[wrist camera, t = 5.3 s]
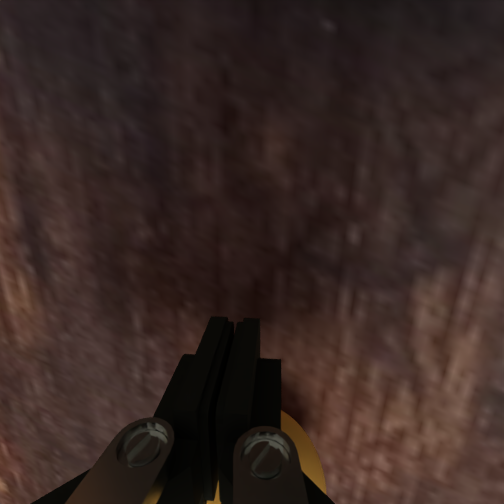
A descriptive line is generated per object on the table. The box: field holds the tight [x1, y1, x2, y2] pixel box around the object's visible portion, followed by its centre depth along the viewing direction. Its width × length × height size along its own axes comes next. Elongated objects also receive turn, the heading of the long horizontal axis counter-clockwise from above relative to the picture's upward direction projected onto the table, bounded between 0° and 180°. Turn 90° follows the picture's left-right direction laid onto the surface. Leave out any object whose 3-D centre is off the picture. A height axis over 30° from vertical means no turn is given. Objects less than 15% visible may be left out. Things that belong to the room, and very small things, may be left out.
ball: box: [207, 410, 326, 504], centre depth 11 cm, size 6×6×6 cm
